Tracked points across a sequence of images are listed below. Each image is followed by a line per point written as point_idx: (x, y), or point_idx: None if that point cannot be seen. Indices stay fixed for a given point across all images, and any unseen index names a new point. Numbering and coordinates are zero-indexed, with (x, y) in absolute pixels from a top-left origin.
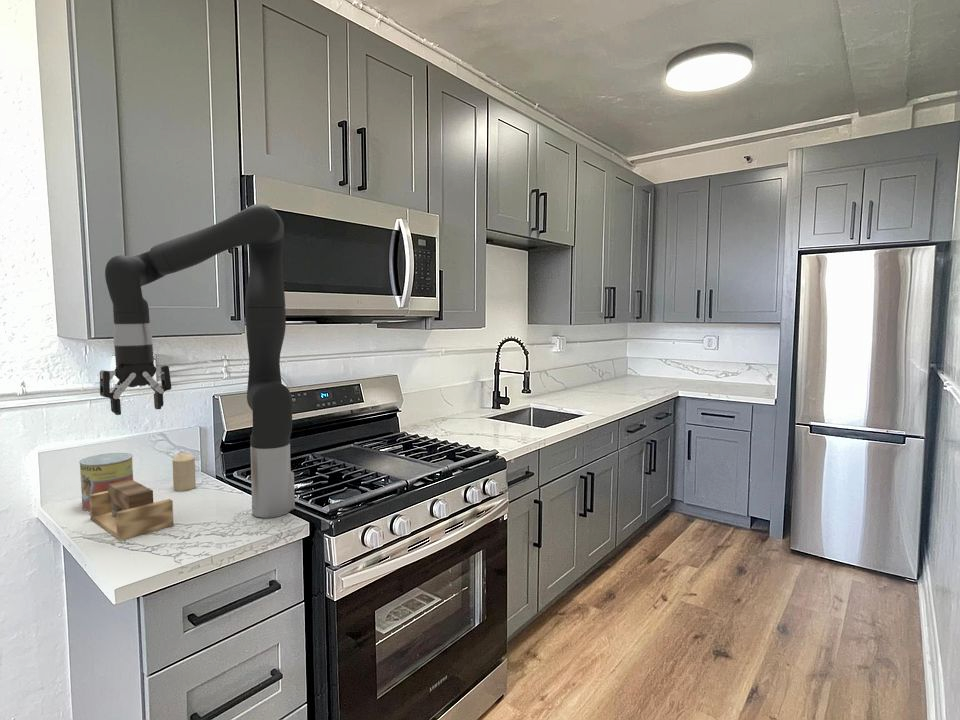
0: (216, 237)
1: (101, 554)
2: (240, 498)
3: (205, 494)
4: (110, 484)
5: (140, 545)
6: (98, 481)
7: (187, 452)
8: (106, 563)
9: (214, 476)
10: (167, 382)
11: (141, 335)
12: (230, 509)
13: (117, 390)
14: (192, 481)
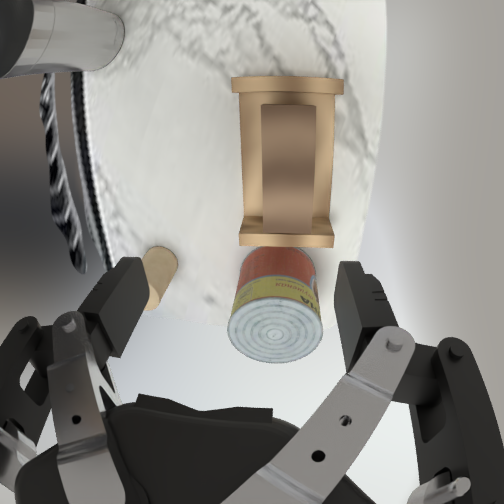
0: None
1: (372, 51)
2: (105, 139)
3: (142, 204)
4: (308, 227)
5: (316, 35)
6: (304, 283)
7: None
8: (375, 15)
9: None
10: (9, 356)
11: None
12: (136, 92)
13: (393, 384)
14: (147, 254)
